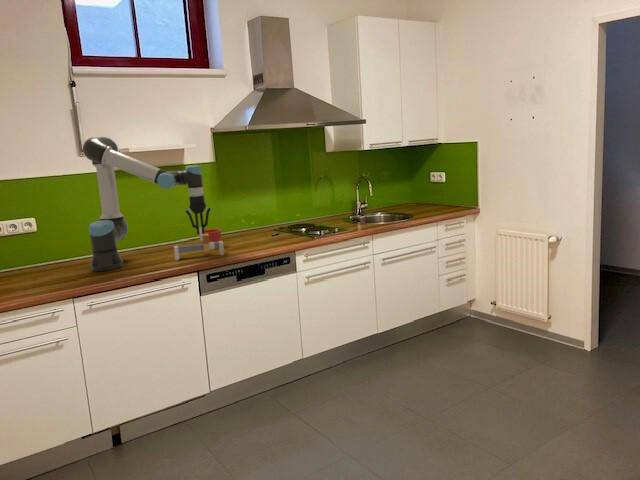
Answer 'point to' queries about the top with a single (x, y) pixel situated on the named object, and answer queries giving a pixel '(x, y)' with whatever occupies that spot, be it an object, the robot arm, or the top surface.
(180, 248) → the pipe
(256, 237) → the top surface
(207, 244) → the collar
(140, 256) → the top surface
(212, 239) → the flower pot
